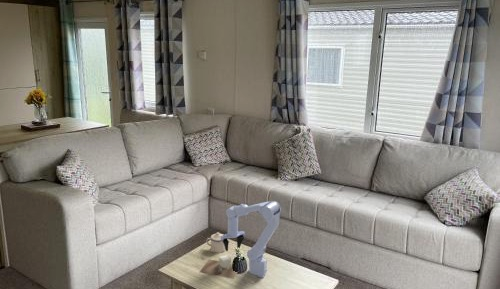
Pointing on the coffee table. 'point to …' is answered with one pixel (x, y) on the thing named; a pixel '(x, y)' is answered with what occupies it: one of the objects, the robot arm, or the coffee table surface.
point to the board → (214, 270)
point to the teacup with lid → (216, 243)
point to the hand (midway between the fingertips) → (232, 248)
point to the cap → (225, 261)
